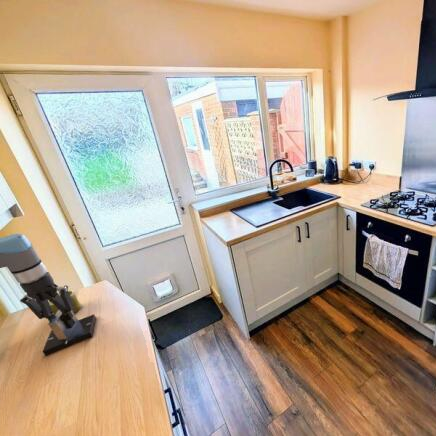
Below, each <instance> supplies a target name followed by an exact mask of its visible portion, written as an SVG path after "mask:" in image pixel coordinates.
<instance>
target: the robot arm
mask: <svg viewBox="0 0 436 436" xmlns="http://www.w3.org/2000/svg"><path fill="white" fill-rule="evenodd" d="M2 268H3V269H4V268H7V269H8V270H9V272H10V274H11V275H12V276H13V278H14V280H15V281H16V282H17V283H18V284H19V286H20V287H21V289H22V291H23V292H24V293H26V294H25V295H24V296H23V297H22V298H20V300H19V301H20V303H22V304H24V305H25V306H27V308H29V310H30V311H31V312H32V313H33V314H34V315H35V316H36V318H38V319H39V320H42V319H46V320H47V321H48V323H49V322H50V320H51V319H52V318H53V317H54V315H55V314H56V313H54V312H53V311H52V308H51V306H50V304H49V301H50V302H52V303H53V304H54V305H55V306H56V307H57V308H58V309H59V310H60V311H61V312H62V313H63V314H62V315H61V316H62V318H63V319H64V321H65V322H66V324H67V325H68V327H69V328H72V327H73V325H74V324H75V321H74V320H73V314H72V313H71V310H72V309H73V308H74V303H73V301H72V299H71V297H70V294H69V292H68V291H69V286H68V285H67V284H66V285H64V286H59V285H58V284H56V283H55V282H54V278H53V277H52V275H51V273H50V272H49V271H48V269H47V267H46V265H45V264H44V263H43V261H42V259H41V258H40V257H39V255H38V254H37V252H36V250H35V248H34V246H33V243H31V242H30V240H29V239H28V238H27V236H26V235H24V234H23V233H12V234H8V235H5V236H2V237H0V269H2ZM59 294H60V296H61V298H62V299H61V298H60V297H59ZM53 313H54V314H53Z"/></svg>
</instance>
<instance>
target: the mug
mask: <svg viewBox="0 0 436 436" xmlns="http://www.w3.org/2000/svg"><path fill="white" fill-rule="evenodd" d="M68 292H69V294H70V297H71V299H72V301H73V303H74V308H73V309H72V311H73V313H74V314H75V313H76V312H78V311H79V310H81V308H82V304H81V302H80V301H79V299H78V296H77V295H76V293H75V292H74V291H73V290H68ZM58 294H59V293H58ZM59 297H60V298H61V296H60V294H59ZM61 299H62V298H61ZM48 302H49V304H50V306H51V308H52V311H53V312H54V313H57V311H58V310H59V309H58V308H57V307H56V306H55V305H54V304H53V303H52V302H50V301H49V300H48ZM54 313H53V314H54Z"/></svg>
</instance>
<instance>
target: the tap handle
mask: <svg viewBox="0 0 436 436" xmlns="http://www.w3.org/2000/svg"><path fill="white" fill-rule="evenodd" d="M71 313H72V314H73V320H74V321H75V324H74V325H73V327H72V328H69V327H68V325H67V324H66V322H65V321H64V319H63V318H62V316H61V315H62V314H63V313H62V312H61V311H60V310H58V311H57V313H56V314H55V315H54V317H53V318H52V319H51V320H50V322H49V321H48V323H47V325H48V327H49V328H50V330H52V331H53V332H54V334H55V335H56V336H57V338H58V339H59V341H60V342H61V341H65V340H68V338H69V337H70V335H71V334H72V332H73V331H74V329H75V327H76V326H77V324H78V323H79V321H78V320H79V319H78V317H77V316H76V315H75V313H73V311H72V310H71Z"/></svg>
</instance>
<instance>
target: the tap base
mask: <svg viewBox="0 0 436 436" xmlns="http://www.w3.org/2000/svg"><path fill="white" fill-rule="evenodd" d="M97 319H98V318H97V316H96V315H95V314H91V315H88V316H86V317H83V318H81V319H78V321H79V323H78V324H77V326H76V327H75V329H74V331H73V332H72V334H71V335H70V337H69V338H68V340H65V341H61V342H60V341H59V339H58V338H57V336H56V335H55V334H54V332H53V331H52V329H50V332H49V334H48V337H47V339H46V342H45V343H44V347H43V349H42V353H43V354H44V356H45V357H48V356H50V355H53V354H55V353H58V352H60V351H62V350H65V349H67V348H69V347H72V346H74V345H77V344H79V343H82V342H84V341H86V340H89V339H91V338H92V339H93V337H94V332H95V329H96V323H97Z"/></svg>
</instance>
